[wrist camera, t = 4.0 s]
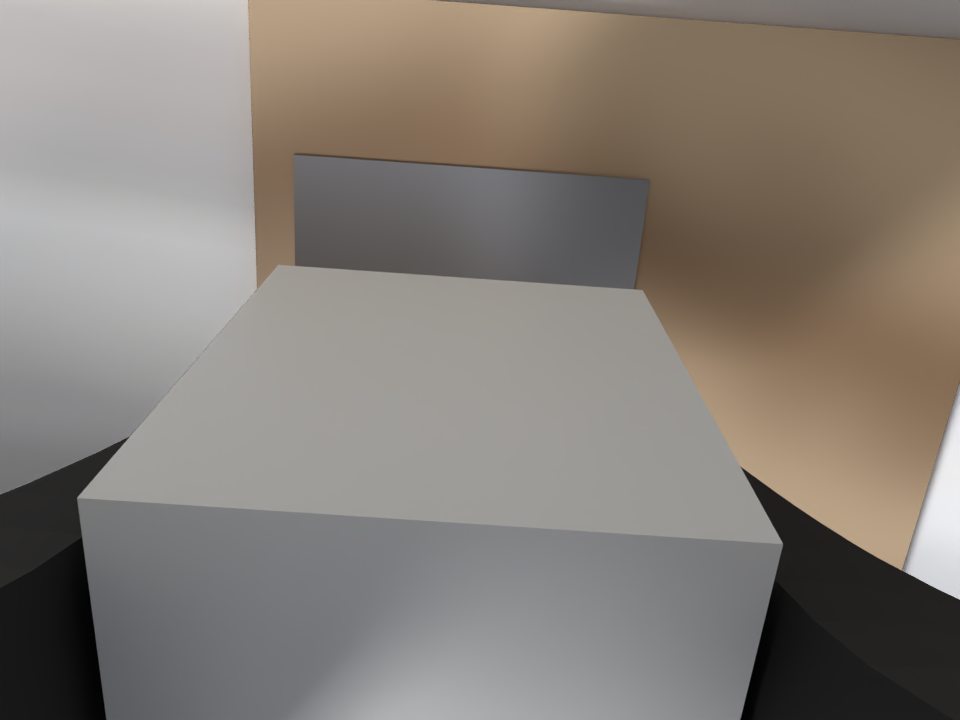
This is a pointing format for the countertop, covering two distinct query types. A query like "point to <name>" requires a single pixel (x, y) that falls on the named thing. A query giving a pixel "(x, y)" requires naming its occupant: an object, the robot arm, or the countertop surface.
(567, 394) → the grey block
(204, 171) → the countertop surface
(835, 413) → the board
